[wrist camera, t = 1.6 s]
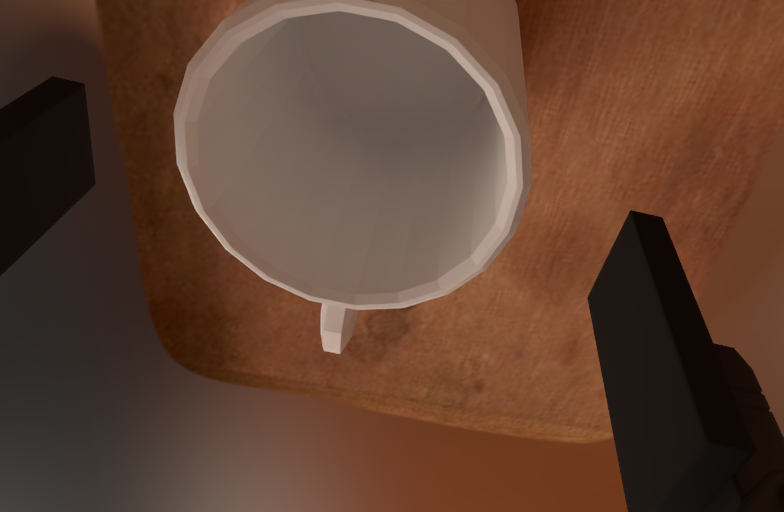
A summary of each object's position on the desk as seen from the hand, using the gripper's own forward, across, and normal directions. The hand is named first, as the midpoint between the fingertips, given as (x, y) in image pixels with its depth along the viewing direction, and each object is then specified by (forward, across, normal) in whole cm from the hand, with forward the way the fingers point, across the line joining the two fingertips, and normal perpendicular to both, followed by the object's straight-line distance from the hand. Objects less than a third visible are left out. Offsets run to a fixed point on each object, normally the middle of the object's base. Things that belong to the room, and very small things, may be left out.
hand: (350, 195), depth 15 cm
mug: (+9, 0, -1) cm, 9 cm away
